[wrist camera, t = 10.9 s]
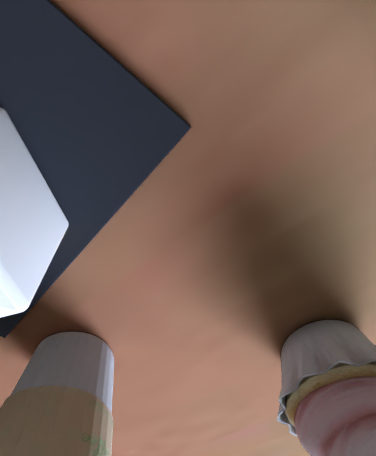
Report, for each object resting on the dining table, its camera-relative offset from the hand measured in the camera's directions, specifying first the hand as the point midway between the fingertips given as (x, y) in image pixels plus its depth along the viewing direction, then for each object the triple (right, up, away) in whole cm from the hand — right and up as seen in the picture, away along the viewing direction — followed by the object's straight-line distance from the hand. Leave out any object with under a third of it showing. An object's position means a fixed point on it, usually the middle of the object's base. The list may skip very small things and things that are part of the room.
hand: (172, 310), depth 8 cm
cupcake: (+11, -7, +20) cm, 24 cm away
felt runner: (-10, +4, +12) cm, 16 cm away
